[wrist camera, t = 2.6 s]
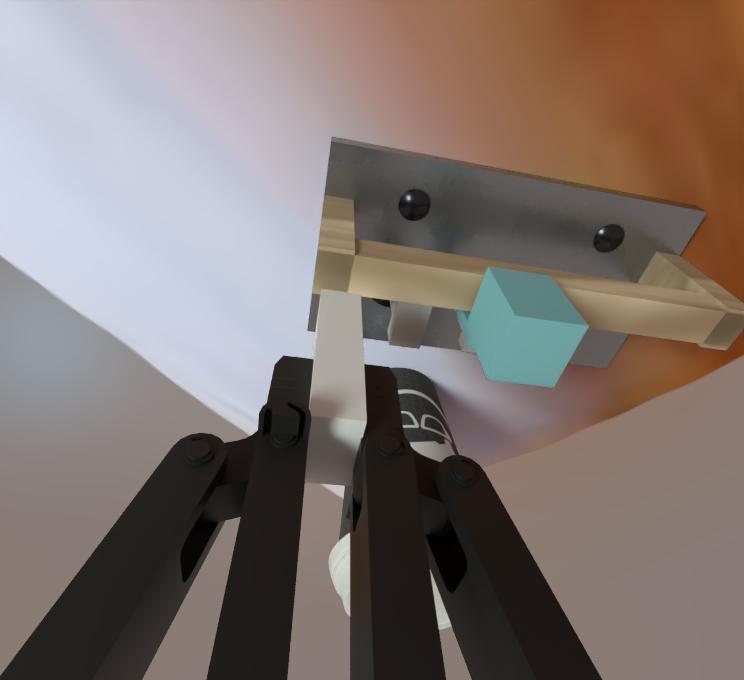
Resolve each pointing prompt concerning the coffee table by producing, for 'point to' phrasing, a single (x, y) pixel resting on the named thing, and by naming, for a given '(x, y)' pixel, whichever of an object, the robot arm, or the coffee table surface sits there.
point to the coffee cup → (425, 437)
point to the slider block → (521, 328)
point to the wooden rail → (465, 274)
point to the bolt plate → (500, 227)
